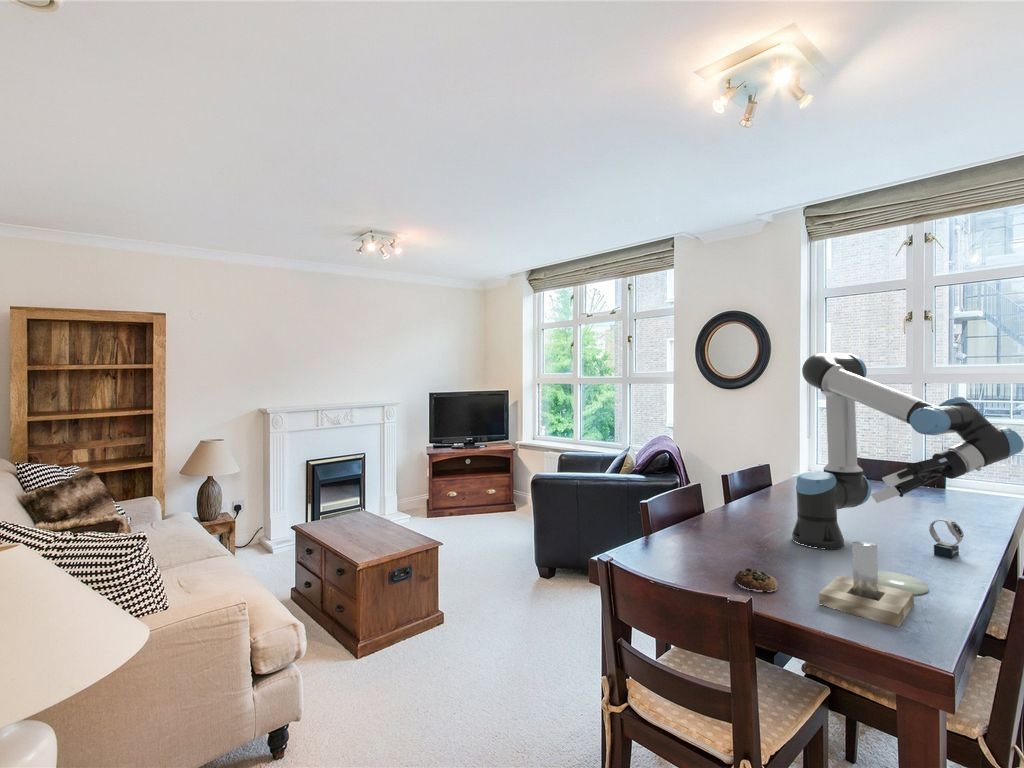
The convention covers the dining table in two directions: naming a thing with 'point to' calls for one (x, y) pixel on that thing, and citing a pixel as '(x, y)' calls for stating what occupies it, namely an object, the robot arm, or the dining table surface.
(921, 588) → the coaster
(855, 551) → the canister
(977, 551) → the dining table surface
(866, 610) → the holder block
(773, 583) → the bread roll
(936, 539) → the watch
